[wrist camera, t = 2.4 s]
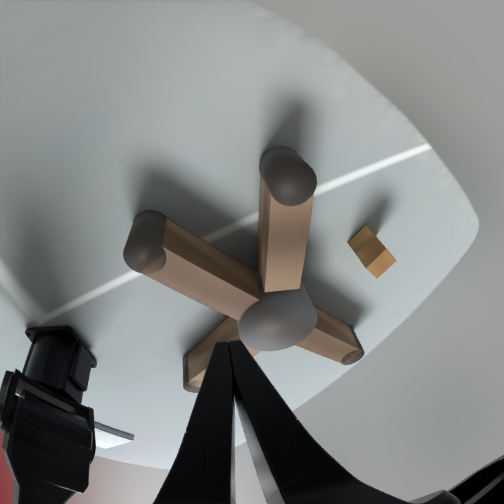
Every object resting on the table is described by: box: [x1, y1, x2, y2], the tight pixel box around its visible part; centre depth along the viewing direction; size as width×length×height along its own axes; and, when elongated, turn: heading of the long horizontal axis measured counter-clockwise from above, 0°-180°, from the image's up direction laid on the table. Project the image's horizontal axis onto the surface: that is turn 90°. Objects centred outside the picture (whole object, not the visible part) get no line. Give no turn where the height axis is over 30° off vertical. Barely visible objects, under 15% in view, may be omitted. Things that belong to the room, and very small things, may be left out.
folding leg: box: [257, 146, 317, 292], centre depth 18 cm, size 9×3×3 cm, turn 179°
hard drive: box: [94, 422, 134, 449], centre depth 40 cm, size 2×8×12 cm
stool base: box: [123, 210, 396, 393], centre depth 23 cm, size 22×25×4 cm
